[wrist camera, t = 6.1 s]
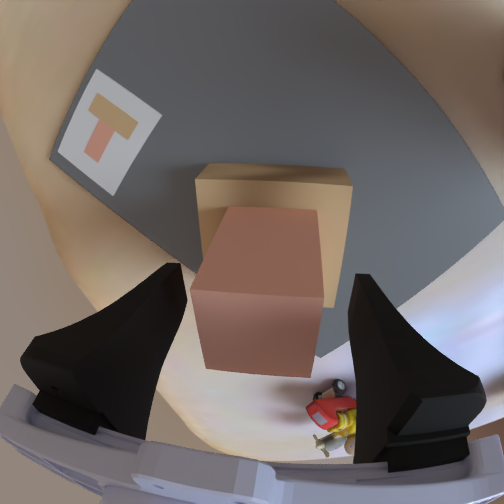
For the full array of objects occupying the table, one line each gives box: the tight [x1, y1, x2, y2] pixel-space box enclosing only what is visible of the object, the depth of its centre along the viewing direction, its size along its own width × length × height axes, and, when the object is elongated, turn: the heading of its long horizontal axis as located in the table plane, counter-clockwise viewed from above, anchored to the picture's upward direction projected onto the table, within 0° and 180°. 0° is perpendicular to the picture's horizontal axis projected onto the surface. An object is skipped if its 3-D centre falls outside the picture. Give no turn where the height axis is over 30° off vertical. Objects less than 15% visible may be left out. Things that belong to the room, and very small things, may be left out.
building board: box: [49, 0, 504, 358], centre depth 16 cm, size 24×17×1 cm
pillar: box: [190, 206, 324, 378], centre depth 13 cm, size 4×4×6 cm
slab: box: [195, 163, 353, 308], centre depth 17 cm, size 7×7×2 cm
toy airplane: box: [306, 379, 356, 457], centre depth 25 cm, size 9×9×6 cm
